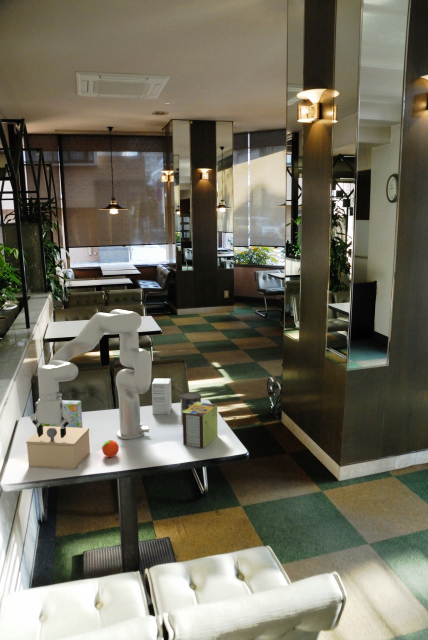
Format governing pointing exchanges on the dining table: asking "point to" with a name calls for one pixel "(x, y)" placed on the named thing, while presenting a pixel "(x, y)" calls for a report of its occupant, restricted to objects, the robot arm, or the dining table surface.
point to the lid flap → (58, 436)
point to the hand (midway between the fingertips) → (51, 436)
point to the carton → (58, 454)
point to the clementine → (110, 448)
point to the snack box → (72, 410)
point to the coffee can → (188, 401)
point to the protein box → (199, 424)
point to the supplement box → (161, 396)
